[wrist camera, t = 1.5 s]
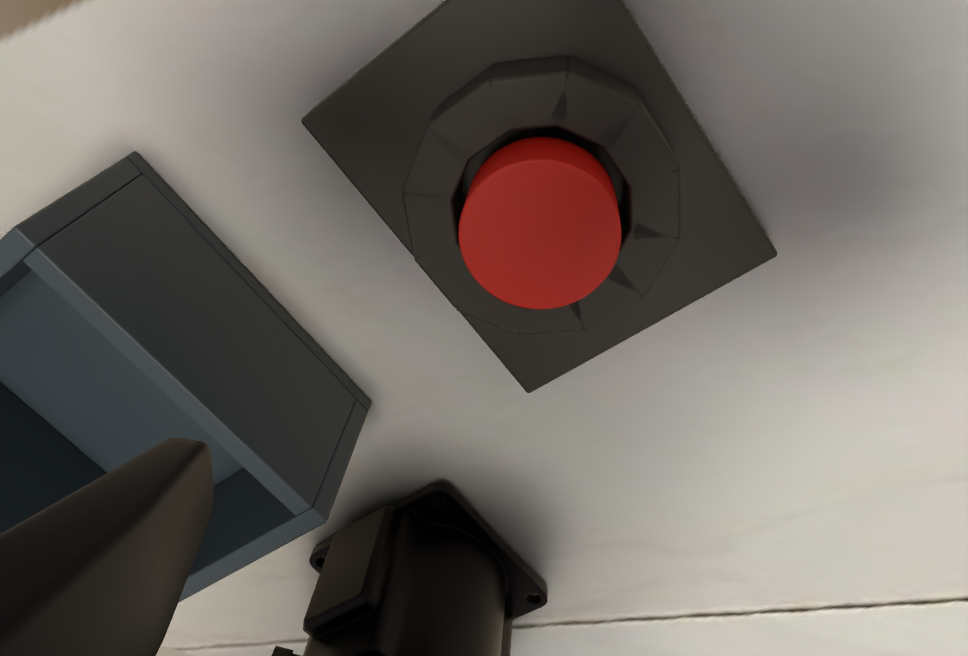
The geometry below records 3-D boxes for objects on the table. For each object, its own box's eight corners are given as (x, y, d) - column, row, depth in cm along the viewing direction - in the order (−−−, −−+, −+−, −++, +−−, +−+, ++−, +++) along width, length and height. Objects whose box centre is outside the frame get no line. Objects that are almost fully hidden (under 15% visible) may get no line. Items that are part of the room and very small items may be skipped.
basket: (372, 402, 25) (327, 522, 21) (167, 525, 29) (90, 651, 24) (135, 150, 22) (14, 225, 17) (-64, 327, 25) (-208, 430, 21)
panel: (769, 237, 21) (797, 287, 19) (529, 373, 24) (525, 432, 22) (563, -97, 18) (563, -93, 15) (312, 109, 21) (275, 141, 18)
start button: (645, 227, 19) (652, 258, 17) (523, 301, 20) (520, 336, 18) (561, 104, 17) (561, 125, 16) (436, 192, 19) (425, 219, 17)
